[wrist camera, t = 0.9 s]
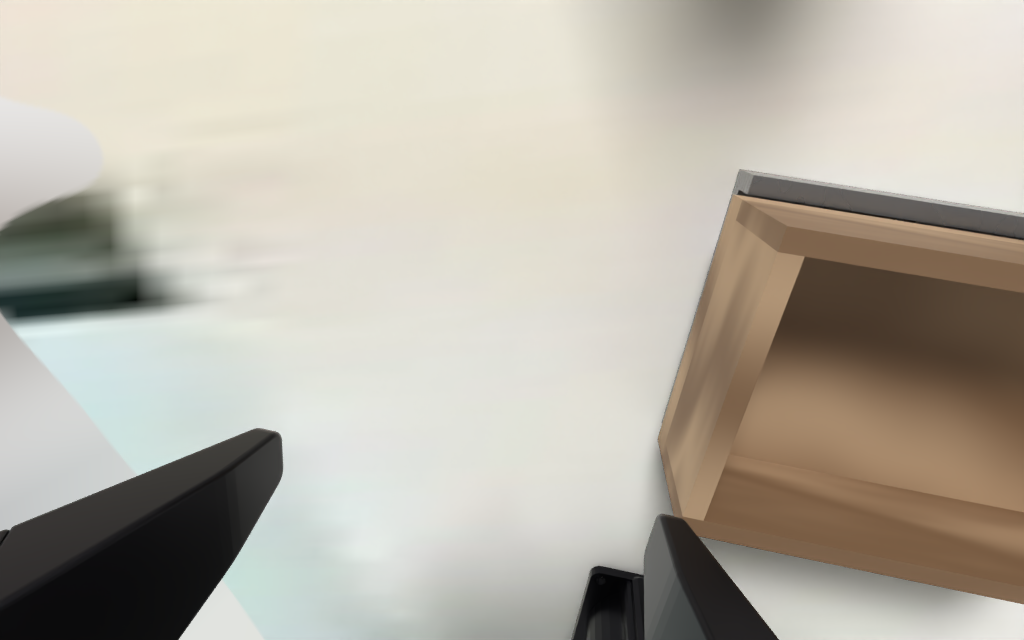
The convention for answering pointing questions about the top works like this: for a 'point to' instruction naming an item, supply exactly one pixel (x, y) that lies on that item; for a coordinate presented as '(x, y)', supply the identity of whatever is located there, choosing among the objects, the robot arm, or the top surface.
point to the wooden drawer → (856, 397)
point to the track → (875, 207)
